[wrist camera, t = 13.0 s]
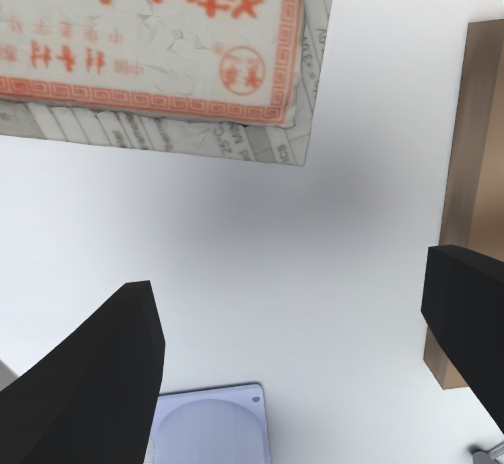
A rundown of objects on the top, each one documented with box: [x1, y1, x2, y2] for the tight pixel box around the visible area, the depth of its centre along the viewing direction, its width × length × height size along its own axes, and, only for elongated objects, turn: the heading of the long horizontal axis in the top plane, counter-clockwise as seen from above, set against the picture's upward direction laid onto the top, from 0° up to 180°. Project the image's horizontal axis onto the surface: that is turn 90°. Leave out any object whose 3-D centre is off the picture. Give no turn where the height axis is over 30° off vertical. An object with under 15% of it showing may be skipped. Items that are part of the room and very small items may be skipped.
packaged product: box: [0, 0, 332, 166], centre depth 14 cm, size 18×5×10 cm
